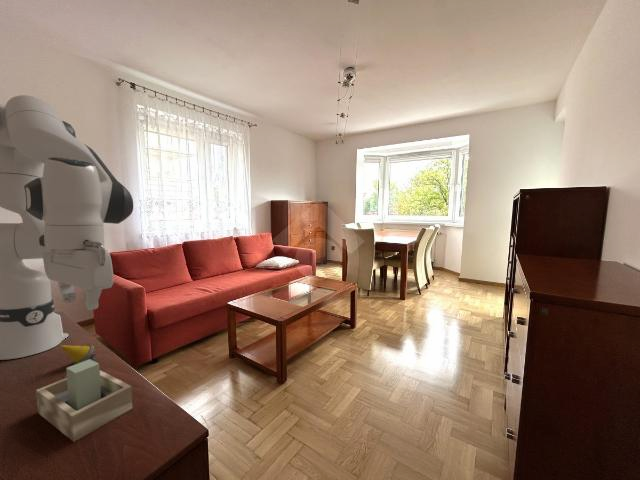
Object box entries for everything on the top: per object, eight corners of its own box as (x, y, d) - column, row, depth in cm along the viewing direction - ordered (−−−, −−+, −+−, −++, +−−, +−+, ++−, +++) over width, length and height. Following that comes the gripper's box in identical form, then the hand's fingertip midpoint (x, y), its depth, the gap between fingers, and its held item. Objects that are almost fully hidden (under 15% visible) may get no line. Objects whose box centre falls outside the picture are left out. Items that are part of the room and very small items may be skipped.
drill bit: (97, 365, 75) (60, 352, 69) (84, 371, 76) (46, 358, 70) (106, 347, 79) (72, 333, 73) (93, 352, 80) (59, 339, 74)
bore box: (37, 412, 56) (36, 390, 56) (94, 386, 65) (93, 366, 65) (73, 442, 49) (72, 416, 49) (132, 408, 58) (131, 386, 57)
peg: (69, 413, 56) (66, 367, 55) (92, 401, 60) (89, 359, 59) (78, 420, 54) (75, 373, 53) (101, 407, 58) (99, 363, 57)
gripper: (121, 240, 52) (124, 309, 54) (72, 236, 62) (75, 294, 63) (82, 243, 47) (86, 319, 48) (34, 237, 56) (38, 301, 57)
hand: (79, 305), depth 55 cm, fingers open, 8 cm apart
